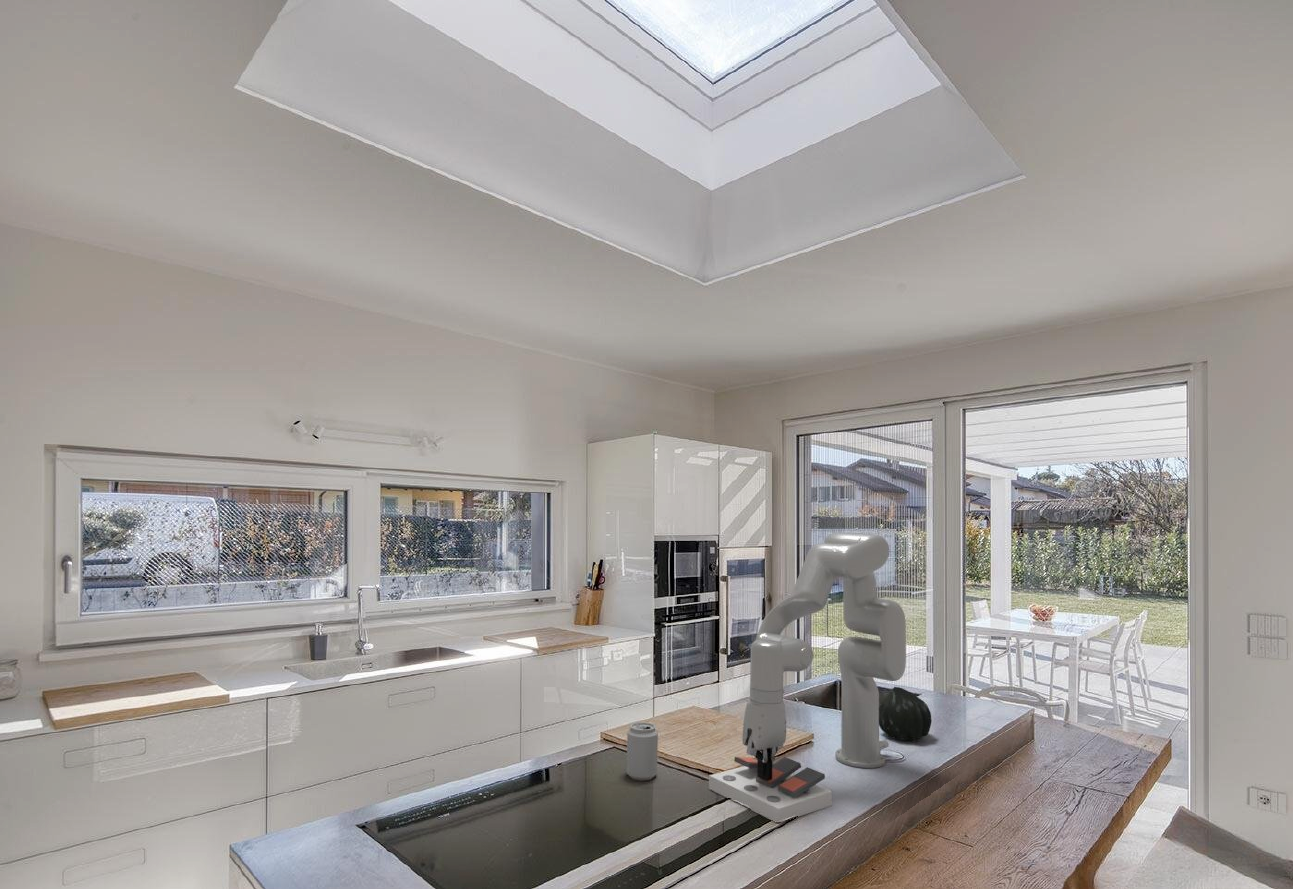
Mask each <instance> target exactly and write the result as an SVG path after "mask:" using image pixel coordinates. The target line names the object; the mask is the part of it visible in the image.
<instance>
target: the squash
mask: <svg viewBox="0 0 1293 889" xmlns="http://www.w3.org/2000/svg"><path fill="white" fill-rule="evenodd" d="M930 710H931V709H930V708H929V705H928V704H927V703H926V702H925V701H924V700H923V699H921V698H920V697H918V696H917V695H916V694H914V693H913V692H911V691H909V690H907V689H905V688H903V687H900V686H899V687H898V686H894V687H892V688H891V690H890V691H889V693H888V694H887V695H886V696H885V697H884V699H883V700H882V701H881V702H880V704H879V729H881V731H883V733H884V734H886V735H887V736H888V738H889V737H890V738H892V739H899V740H900V741H902V742H907V741H908V740H909V741H910V742H917V741H919V740H920V739H921V738H925V737H926V736H928V735H929V733H930V729H931V726H932V712H931V711H930Z"/></svg>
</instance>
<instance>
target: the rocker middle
mask: <svg viewBox="0 0 1293 889" xmlns="http://www.w3.org/2000/svg"><path fill="white" fill-rule="evenodd" d="M774 763H775V764H773V768H772V780H768V781H765V780H763V779H761V778H759V777H758V776H756V777H755V778H756V781H757V782H759V783H761V784H764V785H766V786H768V787H770V788H773V787H774V786H776V785H777V784H779V783H780V782H781V781H783V780H784V779H785V778H787V777H788V776H790V775H791V774H792V775H793V774H794V773H796V772H797V771H799V769H800V768H801V767H802V764H801V763H800V762H798V761H796V760H794V759H791V758H788V757H786V756H784V757H782V758H780V759H779V760H778V761H776V762H774Z"/></svg>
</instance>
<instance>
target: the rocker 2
mask: <svg viewBox="0 0 1293 889" xmlns="http://www.w3.org/2000/svg"><path fill="white" fill-rule="evenodd" d="M793 775H794V776H792V777H791V778H789V779H787V780H786V781H784V782H782V783H781V784H779V785H777V786H778V790H780V791H782V792H784V793H786V794H788V795H791V796H793V797H797V796H798V795H800V794H801V793H803V792H804V791H806V790H808V789H809V788H811V787H812V786H814V785H817V784H818V783H820V782H821V781H823V780H826V775H825V773H822V772H821V771H818V770H815V769H813V768H811V767H808V766H807V767H806V768H804V769H801V770H800V771H799V772H797V773H796V774H793Z"/></svg>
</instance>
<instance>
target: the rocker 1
mask: <svg viewBox="0 0 1293 889" xmlns="http://www.w3.org/2000/svg"><path fill="white" fill-rule="evenodd" d="M733 762H734V763H737V764H739V765H741V766H746V767H748V768H757V763H758V760H757V759H756V758H755V757H747V756H746V757H745V756H735V757H734V761H733ZM772 762H773V764H775V763H776V762H774V761H772Z"/></svg>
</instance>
